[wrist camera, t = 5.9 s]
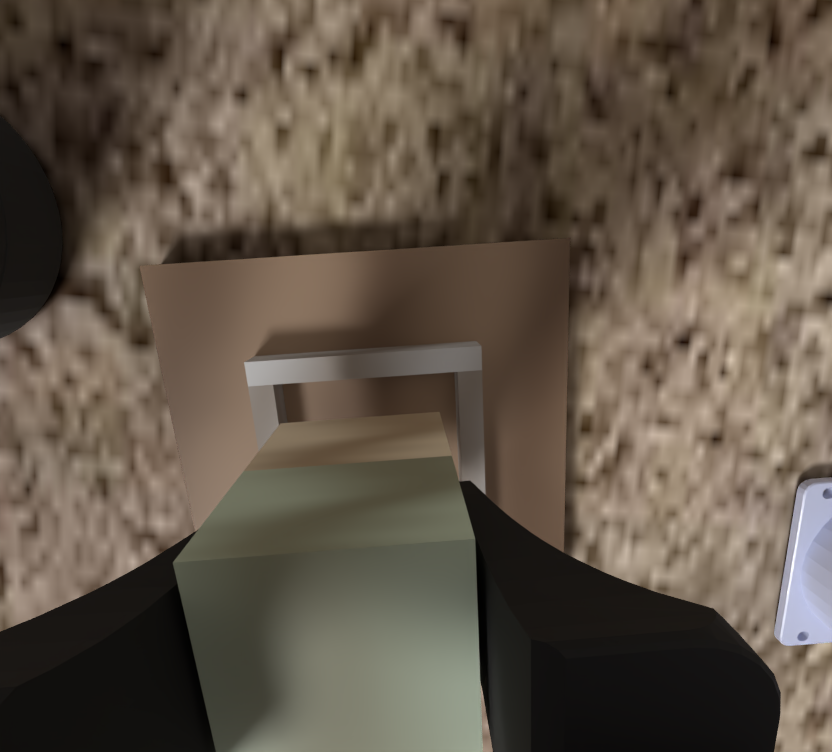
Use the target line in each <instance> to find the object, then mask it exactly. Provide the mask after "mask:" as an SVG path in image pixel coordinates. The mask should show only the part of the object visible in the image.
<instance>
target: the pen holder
mask: <svg viewBox="0 0 832 752" xmlns="http://www.w3.org/2000/svg"><path fill="white" fill-rule="evenodd" d="M62 246H63V245H62V226H61V220H60V214H59V210H58V207H57V203H56V200H55V197H54V193H53V191H52V189H51V186H50V184H49V181H48V179H47V177H46V175H45V173H44V171H43V169H42V167H41V166H40V164H39V162H38V160H37V158H36V157H35V155H34V154H33V153H32V151H31V150H30V148H29V147H28V146H27V144H26V143H25V141H24V140H23V139H22V138H21V137H20V136H19V134H18V133H17V132H16V131H15V130H14V129H13V128H12V126H11V125H10V124H9V123H8V122H6V121H5V120H4V119H3V118H2V117H1V116H0V338H2V337H5V336H7V335H9V334H11V333H12V332H14V331H16V330H17V329H19V328H21V327H22V326H23V325H24V324H26V323H27V322H28V321H29V320H30V319H31V318H33V317H34V315H35V314H36V313H37V312H38V311H39V310H40V308H41V307H42V306H43V305H44V303H45V301H46V300H47V298H48V297H49V295H50V293H51V291H52V289H53V286H54V284H55V282H56V279H57V276H58V272H59V267H60V263H61V256H62Z"/></svg>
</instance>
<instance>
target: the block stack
mask: <svg viewBox="0 0 832 752" xmlns="http://www.w3.org/2000/svg"><path fill="white" fill-rule="evenodd" d="M173 566H174V570H175V574H176V579H177V583H178V588H179V592H180V596H181V601H182V605H183V609H184V614H185V618H186V623H187V627H188V631H189V636H190V640H191V644H192V649H193V653H194V658H195V662H196V666H197V671H198V675H199V680H200V684H201V688H202V693H203V697H204V701H205V706H206V710H207V715H208V719H209V723H210V728H211V732H212V736H213V741H214V745H215V750H216V752H483V745H482V717H481V688H480V660H479V631H478V603H477V574H476V545H475V536H474V533H473V529H472V525H471V522H470V518H469V515H468V511H467V508H466V504H465V501H464V497H463V494H462V490H461V486H460V483H459V479H458V476H457V472H456V469H455V465H454V462H453V458H452V455H451V451H450V447H449V444H448V440H447V437H446V433H445V430H444V426H443V423H442V419H441V416H440V412H430V413H416V414H402V415H389V416H375V417H361V418H347V419H334V420H320V421H306V422H292V423H280V425H279V426H278V427H277V429H276V430H275V431H274V432H273V434H272V435H271V436H270V438H269V439H268V440H267V442H266V443H265V444H264V445H263V447H262V448H261V449H260V451H259V452H258V453H257V454H256V456H255V457H254V458H253V460H252V461H251V462H250V463H249V465H248V466H247V467H246V469H245V470H244V471H243V473H242V474H241V475H240V476H239V478H238V479H237V480H236V482H235V483H234V484H233V485H232V487H231V488H230V489H229V491H228V492H227V493H226V495H225V496H224V497H223V498H222V500H221V501H220V502H219V504H218V505H217V506H216V507H215V509H214V510H213V511H212V513H211V514H210V515H209V517H208V518H207V519H206V520H205V522H204V523H203V524H202V526H201V527H200V528H199V529H198V531H197V532H196V533H195V535H194V536H193V537H192V538H191V540H190V541H189V542H188V544H187V545H186V546H185V548H184V549H183V550H182V551H181V553H180V554H179V555H178V557H177V558H176V559H175V560H174V562H173Z"/></svg>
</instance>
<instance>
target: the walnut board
mask: <svg viewBox="0 0 832 752" xmlns="http://www.w3.org/2000/svg"><path fill="white" fill-rule="evenodd" d="M140 271H141V276H142V280H143V285H144V290H145V295H146V299H147V304H148V309H149V314H150V318H151V323H152V328H153V333H154V338H155V342H156V347H157V352H158V357H159V361H160V366H161V371H162V376H163V381H164V385H165V390H166V395H167V400H168V404H169V409H170V414H171V419H172V423H173V428H174V433H175V438H176V443H177V447H178V452H179V457H180V462H181V466H182V471H183V476H184V481H185V486H186V490H187V495H188V500H189V505H190V509H191V514H192V519H193V524H194V528H195V531H197V530H198V529H199V528H200V527H201V526H202V524H203V523H204V522H205V520H206V519H207V518H208V517H209V515H210V514H211V513H212V511H213V510H214V509H215V507H216V506H217V505H218V504H219V502H220V501H221V500H222V498H223V497H224V496H225V495H226V493H227V492H228V491H229V489H230V488H231V487H232V485H233V484H234V483H235V482H236V480H237V479H238V478H239V476H240V475H241V474H242V473H243V471H244V470H245V469H246V467H247V466H248V465H249V463H250V462H251V461H252V460H253V458H254V457H255V456H256V454H257V453H258V452H259V451H260V449H261V448H262V447H263V445H264V444H265V443H266V442H267V440H268V439H269V438H270V436H271V435H272V434H273V432H274V431H275V430H276V429H277V427H278V426H279V425H280V423H292V422H306V421H320V420H334V419H347V418H361V417H375V416H389V415H402V414H416V413H430V412H440V416H441V419H442V423H443V426H444V430H445V433H446V437H447V440H448V444H449V447H450V451H451V455H452V458H453V462H454V465H455V469H456V472H457V476H458V479H459V481H471V482H472V483H474V484H475V485H476V486H477V487H478V488H479V489H480V490H481V491H482V492H483V493H484V494H485V495H486V496H487V497H488V498H489V499H490V500H491V501H493V502H494V503H495V504H496V505H497V506H498V507H499V508H500V509H501V510H503V511H504V512H505V513H506V514H507V515H509V516H510V517H511V518H512V519H514V520H515V521H516V522H517V523H519V524H520V525H522V526H523V527H524V528H526V529H527V530H528V531H530V532H531V533H533V534H534V535H536V536H537V537H539V538H540V539H542V540H543V541H545V542H547V543H548V544H550V545H552V546H553V547H555V548H557V549H558V550H560V551H562V552H563V553H564V519H565V470H566V421H567V372H568V323H569V274H570V238H561V239H545V240H530V241H514V242H499V243H483V244H468V245H452V246H437V247H421V248H406V249H391V250H375V251H360V252H344V253H329V254H313V255H298V256H282V257H267V258H251V259H236V260H220V261H205V262H190V263H174V264H159V265H143V266H140Z"/></svg>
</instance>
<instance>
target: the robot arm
mask: <svg viewBox="0 0 832 752" xmlns="http://www.w3.org/2000/svg"><path fill="white" fill-rule="evenodd" d="M459 483H460V486H461V490H462V494H463V497H464V501H465V504H466V508H467V511H468V515H469V518H470V522H471V525H472V529H473V533H474V536H475V545H476V574H477V603H478V631H479V660H480V681H481V686H482V690H483V696H484V701H485V707H486V713H487V719H488V725H489V730H490V736H491V742H492V748H493V752H774V748H775V742H776V736H777V731H778V725H779V719H780V694H781V693H780V690H779V687H778V684H777V681H776V679H775V676H774V674H773V672H772V671H771V670H770V669H769V668H768V666H767V665H766V664H765V663H764V662H763V660H762V659H761V658H760V657H759V656H758V655H757V654H756V653H755V651H754V650H753V649H752V648H751V647H750V646H749V645H748V644H747V643H746V642H745V640H744V639H743V638H742V637H741V636H740V635H739V634H738V633H737V632H736V631H735V630H734V629H733V628H732V627H731V626H730V625H729V624H728V623H727V621H726V620H725V619H724V618H723V617H722V616H720V615H719V614H718V613H717V612H716V611H715V610H714V609H713V608H709V607H706V606H702V605H699V604H695V603H692V602H688V601H685V600H681V599H678V598H674V597H671V596H667V595H664V594H660V593H657V592H654V591H651V590H648V589H646V588H643V587H640V586H637V585H635V584H632V583H629V582H627V581H624V580H621V579H619V578H616V577H614V576H611V575H609V574H607V573H604V572H602V571H600V570H598V569H596V568H593V567H591V566H589V565H587V564H585V563H583V562H581V561H579V560H577V559H575V558H573V557H571V556H569V555H567V554H565V553H563V552H562V551H560V550H558V549H557V548H555V547H553V546H552V545H550V544H548V543H547V542H545V541H543V540H542V539H540V538H539V537H537V536H536V535H534V534H533V533H531V532H530V531H528V530H527V529H526V528H524V527H523V526H522V525H520V524H519V523H517V522H516V521H515V520H514V519H512V518H511V517H510V516H509V515H507V514H506V513H505V512H504V511H503V510H501V509H500V508H499V507H498V506H497V505H496V504H495V503H494V502H493V501H491V500H490V499H489V498H488V497H487V496H486V495H485V494H484V493H483V492H482V491H481V490H480V489H479V488H478V487H477V486H476V485H475V484H474V483H472V482H471V481H459ZM824 490H825V491H824ZM823 491H824V492H823ZM197 531H198V530H197ZM197 531H195V532H194V533H192V534H191V535H189V536H188V537H186V538H185V539H183V540H182V541H180V542H178V543H177V544H175V545H174V546H172V547H170V548H169V549H167V550H166V551H164V552H162V553H161V554H159V555H158V556H156V557H155V558H153V559H151V560H150V561H148V562H146V563H145V564H143V565H141V566H139V567H138V568H136V569H134V570H132V571H131V572H129V573H127V574H125V575H123V576H121V577H119V578H118V579H116V580H114V581H112V582H110V583H108V584H106V585H104V586H102V587H100V588H98V589H96V590H94V591H92V592H90V593H88V594H86V595H84V596H82V597H79V598H77V599H75V600H73V601H71V602H68V603H66V604H64V605H62V606H60V607H58V608H55V609H53V610H51V611H49V612H47V613H44V614H42V615H40V616H38V617H35V618H33V619H31V620H28V621H26V622H23V623H21V624H18V625H16V626H13V627H11V628H8V629H6V630H3V631H1V632H0V752H216V750H215V745H214V741H213V736H212V732H211V728H210V723H209V719H208V715H207V710H206V706H205V701H204V697H203V693H202V688H201V684H200V680H199V675H198V671H197V666H196V662H195V658H194V653H193V649H192V644H191V640H190V636H189V631H188V627H187V623H186V618H185V614H184V609H183V605H182V601H181V596H180V592H179V588H178V583H177V579H176V574H175V570H174V566H173V562H174V560H175V559H176V558H177V557H178V555H179V554H180V553H181V551H182V550H183V549H184V548H185V546H186V545H187V544H188V542H189V541H190V540H191V538H192V537H193V536H194V535H195V533H196V532H197ZM774 635H775V637H776V638H777V639H778V640H779V641H780V642H781V643H782V644H784V645H788V646H792V645H805V644H817V643H829V642H832V477H828V478H815V479H808V480H805V481H804V482H802V483H801V484H800V485H799V486H798V489H797V494H796V500H795V506H794V513H793V519H792V525H791V531H790V537H789V544H788V550H787V556H786V562H785V568H784V575H783V581H782V587H781V593H780V599H779V606H778V612H777V618H776V624H775V630H774Z"/></svg>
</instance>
